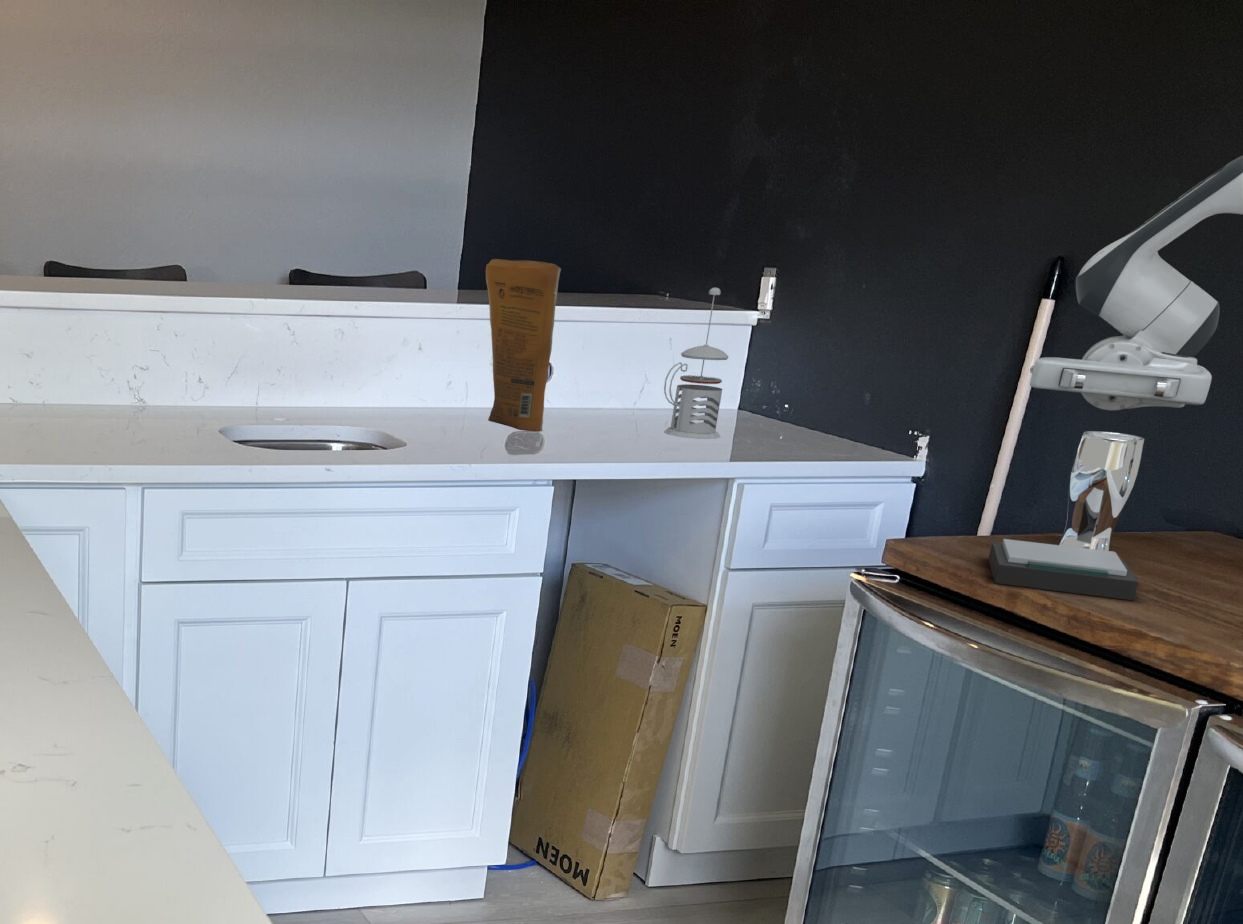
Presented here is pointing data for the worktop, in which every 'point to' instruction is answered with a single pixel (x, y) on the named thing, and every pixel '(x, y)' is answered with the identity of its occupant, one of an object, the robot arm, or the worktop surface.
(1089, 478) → the beer glass
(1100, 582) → the kitchen scale
